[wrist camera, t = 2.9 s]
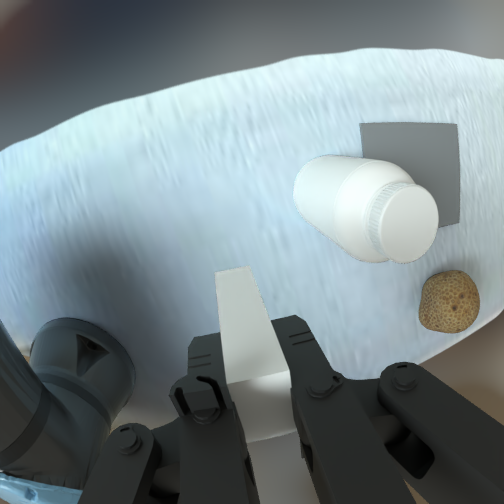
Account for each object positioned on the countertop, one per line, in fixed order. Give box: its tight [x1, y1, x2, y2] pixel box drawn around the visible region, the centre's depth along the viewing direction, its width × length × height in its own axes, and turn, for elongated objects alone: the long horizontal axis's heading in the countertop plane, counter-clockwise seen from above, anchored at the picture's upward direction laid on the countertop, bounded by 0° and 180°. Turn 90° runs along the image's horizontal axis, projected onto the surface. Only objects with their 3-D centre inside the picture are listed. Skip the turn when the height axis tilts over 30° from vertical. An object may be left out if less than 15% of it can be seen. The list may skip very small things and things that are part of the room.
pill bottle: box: [293, 155, 439, 264], centre depth 24 cm, size 8×8×15 cm
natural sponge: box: [419, 270, 480, 333], centre depth 34 cm, size 9×9×10 cm
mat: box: [359, 122, 460, 228], centre depth 32 cm, size 16×14×1 cm
